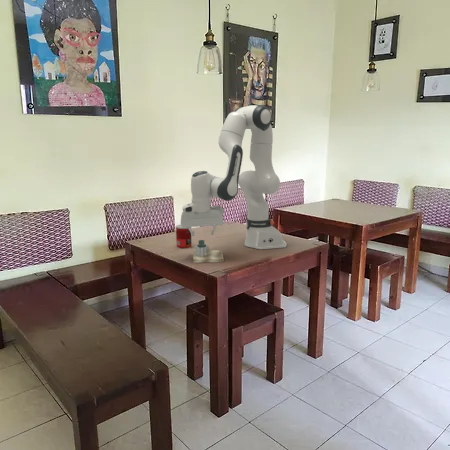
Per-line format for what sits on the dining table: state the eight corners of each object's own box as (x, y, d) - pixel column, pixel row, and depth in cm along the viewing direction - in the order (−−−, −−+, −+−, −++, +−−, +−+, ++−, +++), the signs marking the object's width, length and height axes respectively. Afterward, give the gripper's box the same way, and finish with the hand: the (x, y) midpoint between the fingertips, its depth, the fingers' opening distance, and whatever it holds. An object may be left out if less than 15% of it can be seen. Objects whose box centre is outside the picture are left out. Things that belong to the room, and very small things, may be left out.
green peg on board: (221, 253, 207) (221, 236, 205) (223, 261, 194) (223, 244, 192) (193, 253, 206) (193, 237, 204) (193, 262, 193) (192, 244, 191)
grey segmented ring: (208, 252, 203) (208, 243, 202) (208, 256, 196) (208, 247, 195) (195, 253, 202) (195, 244, 201) (195, 257, 196) (195, 247, 195)
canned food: (189, 248, 215) (188, 228, 213) (174, 247, 217) (173, 227, 214) (193, 244, 222) (192, 224, 220) (179, 244, 224) (178, 224, 222)
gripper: (223, 204, 198) (224, 232, 201) (180, 206, 197) (181, 234, 200) (224, 206, 192) (224, 235, 195) (179, 208, 191) (181, 237, 194)
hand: (202, 235), depth 198 cm, fingers open, 8 cm apart
